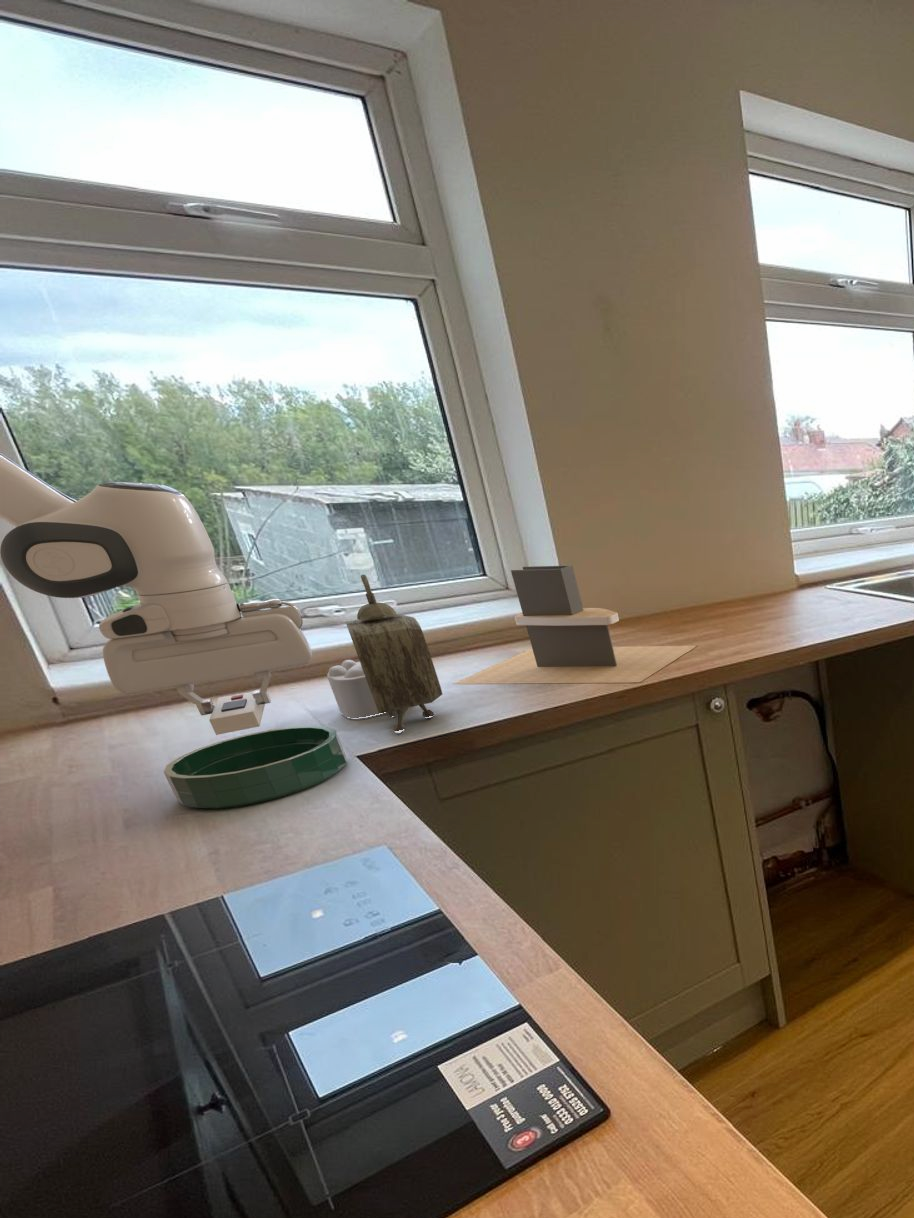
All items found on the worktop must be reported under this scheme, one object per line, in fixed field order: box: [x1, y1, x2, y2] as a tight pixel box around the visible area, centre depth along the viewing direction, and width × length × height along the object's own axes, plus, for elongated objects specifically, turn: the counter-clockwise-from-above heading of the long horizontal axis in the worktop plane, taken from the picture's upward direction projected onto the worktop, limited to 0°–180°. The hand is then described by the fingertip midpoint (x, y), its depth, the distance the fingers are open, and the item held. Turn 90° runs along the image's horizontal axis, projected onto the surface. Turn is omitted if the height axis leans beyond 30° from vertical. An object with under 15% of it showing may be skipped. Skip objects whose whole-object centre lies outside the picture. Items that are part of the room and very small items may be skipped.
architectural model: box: [453, 565, 697, 685], centre depth 163 cm, size 38×25×20 cm, turn 85°
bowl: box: [163, 725, 347, 810], centre depth 116 cm, size 19×19×5 cm
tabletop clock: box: [345, 574, 443, 732], centre depth 133 cm, size 14×9×25 cm, turn 40°
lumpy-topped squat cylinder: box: [326, 659, 411, 721], centre depth 145 cm, size 10×13×9 cm
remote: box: [208, 691, 266, 736], centre depth 112 cm, size 12×4×2 cm, turn 38°
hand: (236, 708), depth 112 cm, fingers closed on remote, 4 cm apart
